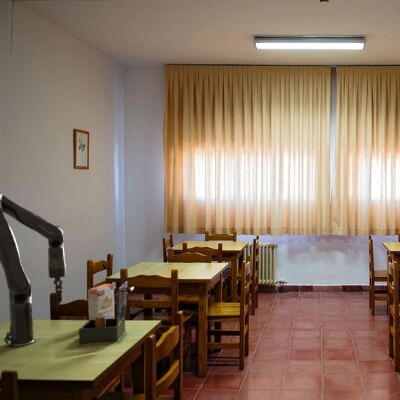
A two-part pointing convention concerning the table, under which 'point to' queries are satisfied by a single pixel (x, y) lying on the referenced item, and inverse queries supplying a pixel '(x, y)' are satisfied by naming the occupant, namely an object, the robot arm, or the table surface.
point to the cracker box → (101, 301)
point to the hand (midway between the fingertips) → (59, 300)
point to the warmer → (101, 332)
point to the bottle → (100, 320)
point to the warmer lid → (122, 302)
